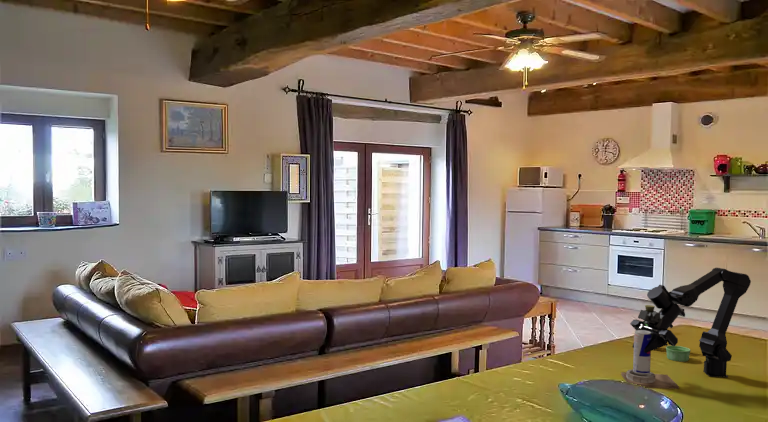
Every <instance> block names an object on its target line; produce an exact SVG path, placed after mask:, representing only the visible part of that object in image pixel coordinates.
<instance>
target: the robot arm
mask: <svg viewBox="0 0 768 422" xmlns="http://www.w3.org/2000/svg"><path fill="white" fill-rule="evenodd" d="M721 282H722V289H723V297H722V298H721V301H720V303H719V307H718V309H717V311H716V314H715V317H714V319H713V323H712V325H711V328H710V329H709V330H708V331H704V330H703V331H702V333H701V336H700V339H699V340H698V342H699V343H698V345H699V348H700V353H701V355H702V356H703V357H705V360H704V361H703V373H704V374H706V375H707V377H710V378H729V376H728V375H727V363H728V362H731V360H732V353H730V352H729V350H728V349H727V344H728V342H727V341H728V340H727V336H726V334H727V331H728V329H729V326H730V323H731V320H732V318H733V315H734V312H735V309H736V307H737V304H738V301H739V299H740V298H742V296H744V295H745V294H746V293H747V291H748V290H749V288H750V286H751V282H752V281H751V278H750V276H749V275H748V274H746V273H741V272H736V271H731V270H728V269H726V268H721V267H714V268H712V269H711V270H710V271H708V272H707V273H706V274H705V275H702V276H701V277H700V278H698V279H696V280H694V281H692V282H691V283H689V284H686V285H685V284H684V285H680V286H678V287H675V288H673V289H672V290H670V291H668V290H667V288H666V287H665V285H663V284H659V285H658V286H654V287H653V288H651V289H649V290H648V291H647V294H646V295H647V298H648V299H649V300H650V302H651V303H652V304H653V306H655V307H656V309H659V311H658V312H657V311H656V312H653V313H650V312H647V311H644V310H645V309H644V310H643V309H640V311H639V314H638V316H637V319H635V318H634V319H632V321H631V322H630V323H629V324H630V326H632V328H633V329H634V330H635V331H636V330H645V331H649V332H651V334H653V335H652V339H651V341H650V342H649V343H648V345H647V346H646V348H645V349H644V352H645V353H648V352H650V351H651V352H653V351H655V350H656V349H659V348H662V347H667V346H677V344H678V343H679V340H678V337H677V336H676V335H675V334H674V333H673V331H671V329H672V328H673V327H674V325H673V323H674V321H676V319H677V318H678V317H679V316H680V317H686V312H685V308H682V307H686V308H689V307H691V306H692V305H694V303H696V302H697V301H698V300H699V297H700V296H701V294H703V293H705V292H706V291H708V290H710V289H712V288H713V287H714V286H716V285H717V284H718V285H719V283H721ZM679 305H680V306H682V307H680V306H679ZM644 320H645V323H646V324H647V325H648V327H647V326H646V325H645V324H644V323H643V321H644ZM669 328H670V329H669ZM632 349H634V342H633V344H632Z"/></svg>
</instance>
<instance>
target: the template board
mask: <svg viewBox="0 0 768 422" xmlns="http://www.w3.org/2000/svg"><path fill="white" fill-rule="evenodd" d="M620 375H621V377H622V378H623V379H624V380H625V382H626V383H627V382H628V383H633V384H637V385H641V386H645V387H644V388H653V389H655V388H656V389H673V390H679V389H680V387H679V384H677V382H676V381H674V380H673V379H672V378H671V377H670V376H669V375H668V374H665V373H664V374H663V373H662V374H661V373H659V374H658V373H654V372H652V371H650V374H648V375H639V374H636V373H634V372H633V368H632V369H628V370H627V371H626V372H623V371H622V372H620ZM628 383H627V384H628Z"/></svg>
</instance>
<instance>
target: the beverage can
mask: <svg viewBox="0 0 768 422" xmlns="http://www.w3.org/2000/svg"><path fill="white" fill-rule="evenodd" d="M650 341H651V332H649V331H645V330H635V331H634V333H633V343H634V348H633V360H632V361H633V362H632V363H633V364H632V366H633V367H632V369H633V372H634V373H636V374H639V375H648V374H650V372H651V360H652V359H651V358H652V356H651V355H652V354H651V353H652V351H650V352H648V353H645V352H644V349H645V348H646V346H647V345H648V343H649V342H650Z"/></svg>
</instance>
